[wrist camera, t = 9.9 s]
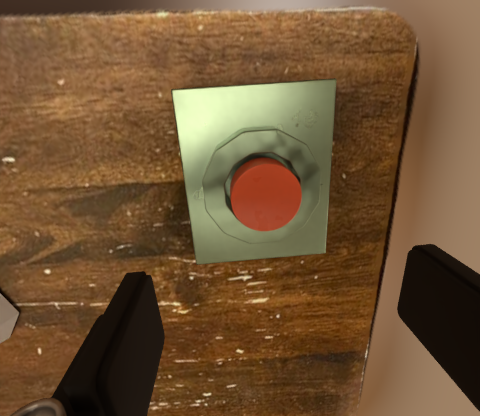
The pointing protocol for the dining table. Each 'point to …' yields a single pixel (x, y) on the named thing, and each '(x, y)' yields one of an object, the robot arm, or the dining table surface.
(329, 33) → the dining table surface
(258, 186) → the button
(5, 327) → the flask
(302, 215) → the button block
